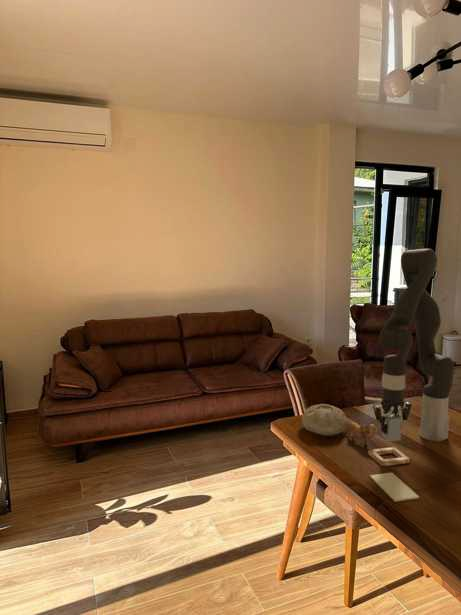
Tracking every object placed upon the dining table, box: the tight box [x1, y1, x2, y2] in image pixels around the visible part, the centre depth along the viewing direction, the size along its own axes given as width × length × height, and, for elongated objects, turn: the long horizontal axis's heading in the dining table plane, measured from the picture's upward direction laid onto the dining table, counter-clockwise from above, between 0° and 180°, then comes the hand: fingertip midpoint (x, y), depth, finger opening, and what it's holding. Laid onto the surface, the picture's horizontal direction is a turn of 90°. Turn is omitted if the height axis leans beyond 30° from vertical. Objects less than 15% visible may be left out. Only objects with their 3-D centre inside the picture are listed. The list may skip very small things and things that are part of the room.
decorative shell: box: [301, 403, 348, 437], centre depth 175 cm, size 18×18×10 cm
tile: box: [369, 472, 420, 503], centre depth 135 cm, size 8×14×1 cm, turn 12°
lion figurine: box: [343, 421, 379, 448], centre depth 165 cm, size 15×5×9 cm, turn 35°
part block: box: [381, 414, 403, 442], centre depth 151 cm, size 4×4×8 cm
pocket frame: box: [367, 446, 410, 467], centre depth 153 cm, size 10×9×2 cm
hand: (391, 432), depth 152 cm, fingers closed on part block, 4 cm apart
